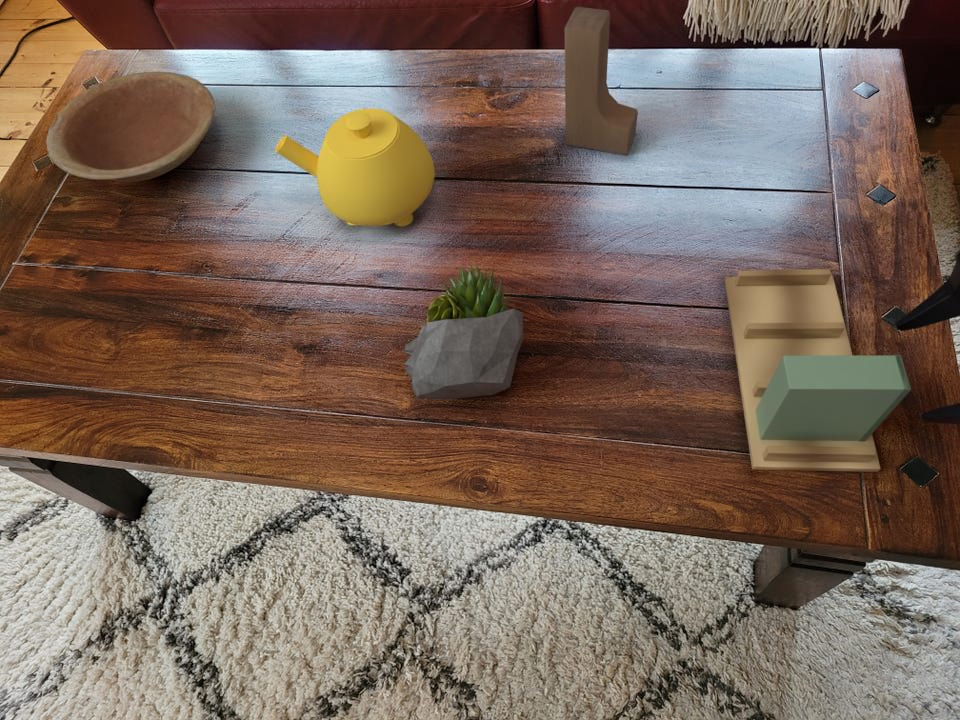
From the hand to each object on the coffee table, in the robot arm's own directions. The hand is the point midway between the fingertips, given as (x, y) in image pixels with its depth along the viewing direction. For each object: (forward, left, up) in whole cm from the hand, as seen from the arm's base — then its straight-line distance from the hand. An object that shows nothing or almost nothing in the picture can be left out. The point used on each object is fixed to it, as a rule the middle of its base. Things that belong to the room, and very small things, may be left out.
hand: (909, 371), depth 60 cm
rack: (+5, -7, -12) cm, 15 cm away
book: (+5, 0, -11) cm, 12 cm away
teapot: (+57, -34, -12) cm, 68 cm away
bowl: (+92, -44, -12) cm, 103 cm away
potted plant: (+41, -8, -12) cm, 44 cm away
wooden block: (+25, -44, -12) cm, 52 cm away
